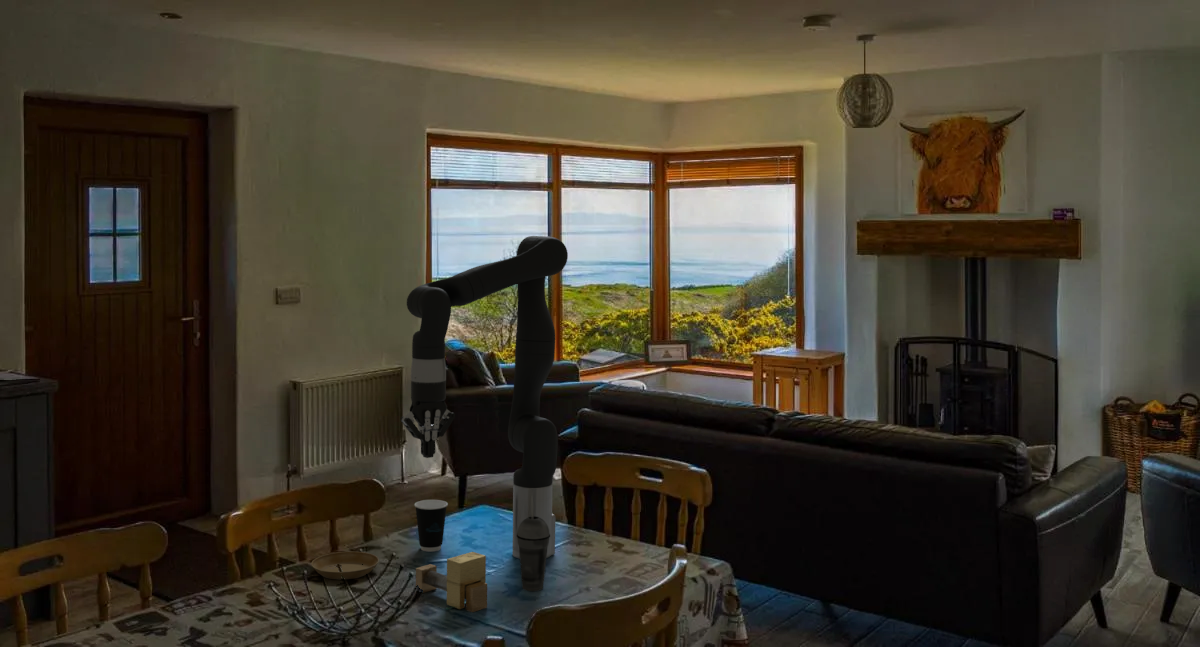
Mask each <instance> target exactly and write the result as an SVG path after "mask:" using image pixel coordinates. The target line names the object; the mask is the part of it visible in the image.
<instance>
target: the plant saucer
mask: <svg viewBox="0 0 1200 647" xmlns="http://www.w3.org/2000/svg"><path fill="white" fill-rule="evenodd" d="M379 562H380V558H379V557H378V556H377V555H375V554H373V553H370V552H365V551H364V552H362V551H338V552H331V553H327V554H322V555H320V556H318V557H316V558H314V559H313V560H312V561H311V564H310V565H311V567H312V568H313V569H314V570H315V571H316V572H317V573H318V574H319V575H320V576H321V577H323V578H326V579H329V580H330V579H331V580H338V581H339V580H341V579H342V578H341V574H342V576H343V577H344V578H345V579H344V580H352V579H353V580H354V579H358V578H361V577H365V576H367V575H368V574H370V573H371V572H372V570H375V569H374V568H376V567H377V565H378V564H379ZM335 564H341V565H342V570H343V572H338V568H335V567H329V566H334V565H335ZM362 564H363V565H362ZM326 568H327V569H326ZM330 568H334V569H330ZM366 574H367V575H366Z"/></svg>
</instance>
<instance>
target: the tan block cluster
mask: <svg viewBox="0 0 1200 647" xmlns="http://www.w3.org/2000/svg"><path fill="white" fill-rule="evenodd" d="M417 585H418V586H419V588H420V589H422V590H423V593H422V594H424V593H428V592H431V591H434V590H437V589H438V590H441V591H444V592H446V593H447V574H446V575H445V574H442V573H439V572H437V565H435V564H431V563H430V564H425V565H422V566H419V567H416V568H415V587H416V586H417ZM454 608H455V607H452V606H450V605H449V606H447V607H445V610H447V611H449V610H452V609H454ZM487 608H488V583H484V582H481V581H480V582H477V583H474V584H471V583H470V584H467V585H465V611H466V612H467V611H468V612H470V613H475V612H478V611H480V610H485V609H487ZM455 609H456V608H455Z"/></svg>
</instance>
